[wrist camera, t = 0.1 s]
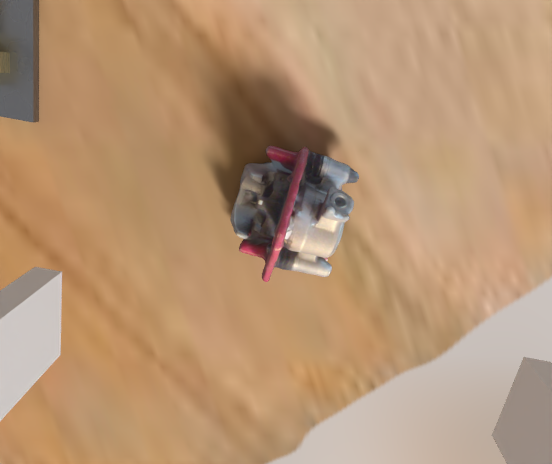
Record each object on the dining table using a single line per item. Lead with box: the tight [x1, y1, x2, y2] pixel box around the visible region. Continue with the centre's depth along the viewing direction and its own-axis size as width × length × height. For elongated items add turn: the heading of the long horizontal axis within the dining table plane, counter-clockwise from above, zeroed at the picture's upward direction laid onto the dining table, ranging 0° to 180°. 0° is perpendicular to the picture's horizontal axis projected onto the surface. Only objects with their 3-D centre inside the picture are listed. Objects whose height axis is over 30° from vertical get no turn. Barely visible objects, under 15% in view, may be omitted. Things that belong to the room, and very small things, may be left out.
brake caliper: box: [231, 146, 359, 282], centre depth 37 cm, size 11×11×12 cm
